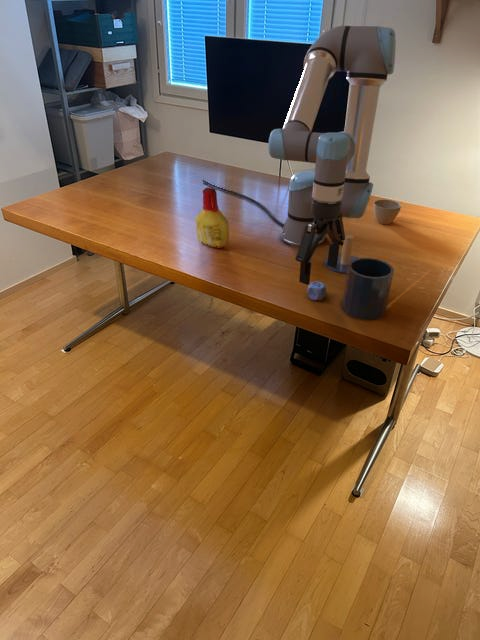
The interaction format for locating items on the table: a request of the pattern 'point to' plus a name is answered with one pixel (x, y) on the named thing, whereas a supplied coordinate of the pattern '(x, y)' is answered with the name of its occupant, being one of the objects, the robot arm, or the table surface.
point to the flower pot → (386, 210)
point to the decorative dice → (316, 291)
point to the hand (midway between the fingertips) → (318, 274)
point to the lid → (343, 256)
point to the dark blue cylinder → (367, 288)
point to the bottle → (212, 221)
